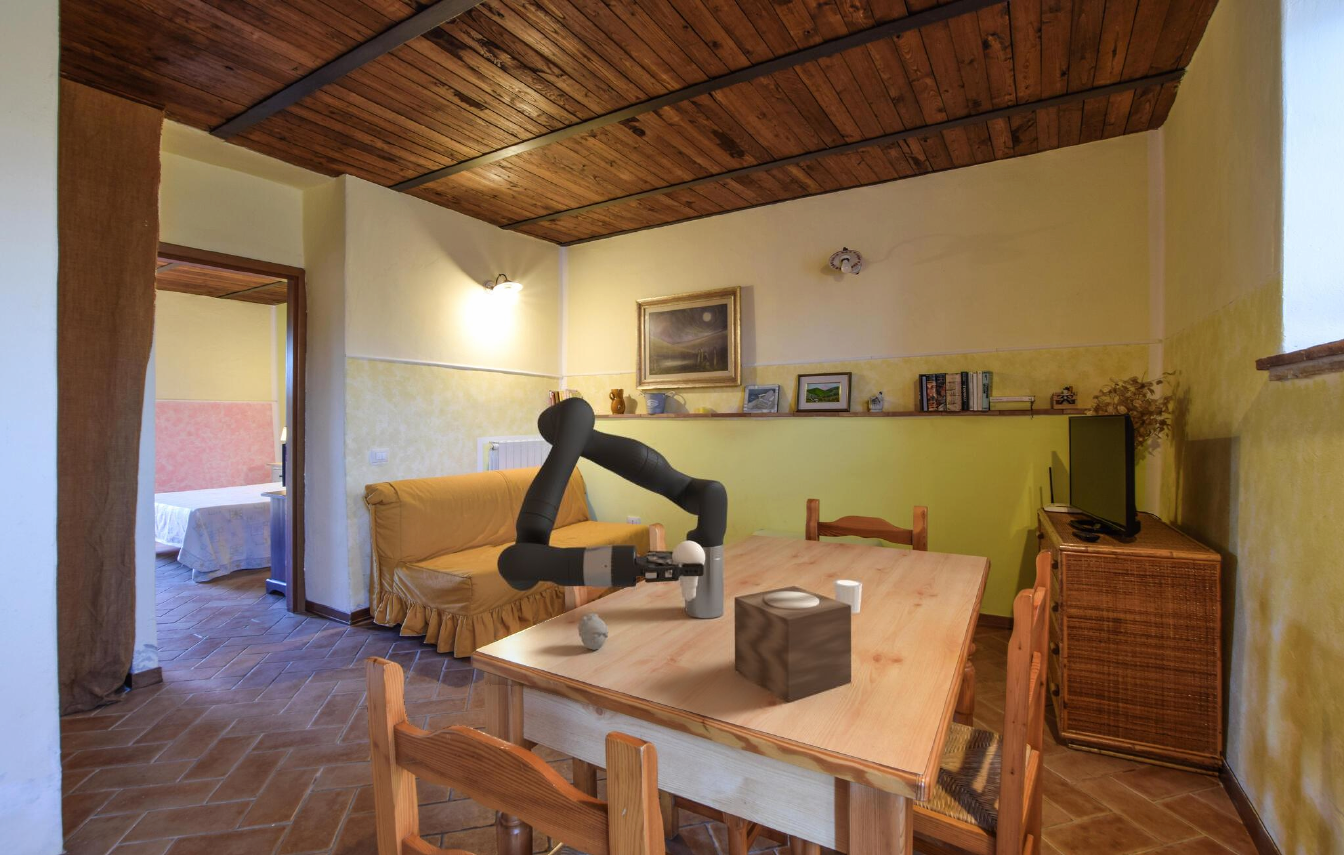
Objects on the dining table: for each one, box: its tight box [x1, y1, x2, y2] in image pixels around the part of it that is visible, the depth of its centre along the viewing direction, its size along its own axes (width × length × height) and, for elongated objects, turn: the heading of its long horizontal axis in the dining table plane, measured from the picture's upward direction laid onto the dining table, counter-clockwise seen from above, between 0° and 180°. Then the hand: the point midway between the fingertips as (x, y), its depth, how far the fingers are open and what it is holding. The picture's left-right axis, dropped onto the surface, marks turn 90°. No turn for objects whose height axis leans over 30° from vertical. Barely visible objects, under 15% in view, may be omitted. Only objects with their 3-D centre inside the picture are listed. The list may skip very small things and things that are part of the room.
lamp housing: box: [734, 585, 852, 704], centre depth 109 cm, size 15×15×14 cm
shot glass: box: [833, 579, 863, 615], centre depth 148 cm, size 7×7×7 cm
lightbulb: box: [672, 540, 705, 601], centre depth 108 cm, size 6×6×11 cm
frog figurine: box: [577, 613, 609, 651], centre depth 123 cm, size 6×7×7 cm
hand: (701, 565), depth 108 cm, fingers closed on lightbulb, 5 cm apart
